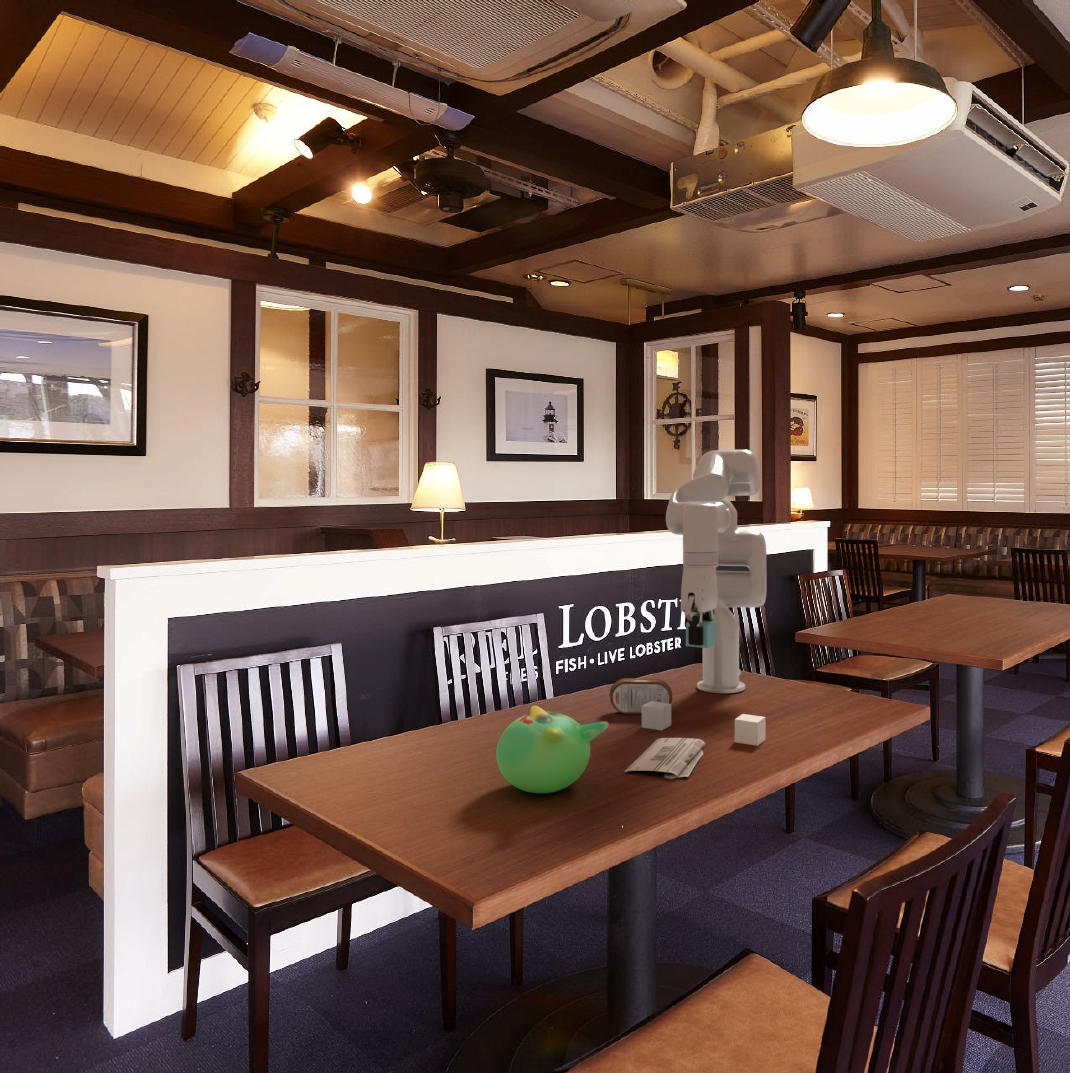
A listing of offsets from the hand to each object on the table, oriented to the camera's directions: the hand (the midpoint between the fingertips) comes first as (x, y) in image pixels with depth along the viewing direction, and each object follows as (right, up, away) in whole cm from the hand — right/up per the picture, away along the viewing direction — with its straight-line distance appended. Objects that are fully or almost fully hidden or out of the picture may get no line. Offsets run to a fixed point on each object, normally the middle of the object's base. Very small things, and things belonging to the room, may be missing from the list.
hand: (701, 641), depth 186 cm
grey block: (-9, -20, +7) cm, 23 cm away
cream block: (+9, -21, -5) cm, 23 cm away
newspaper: (-9, -22, -16) cm, 29 cm away
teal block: (0, -1, 0) cm, 1 cm away
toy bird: (-34, -23, -32) cm, 52 cm away
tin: (-11, -20, +18) cm, 29 cm away
